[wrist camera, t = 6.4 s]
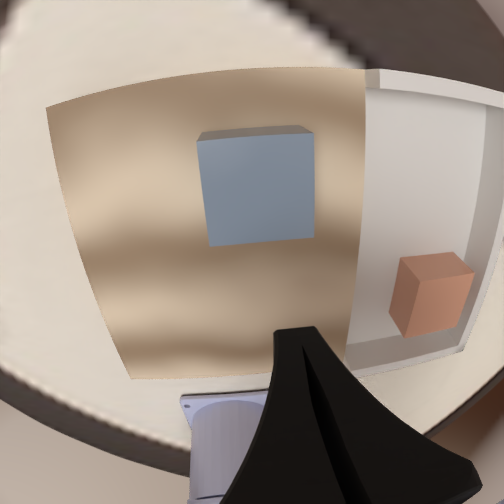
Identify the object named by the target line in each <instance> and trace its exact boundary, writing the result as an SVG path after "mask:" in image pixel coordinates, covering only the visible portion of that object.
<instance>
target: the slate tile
mask: <svg viewBox="0 0 504 504" xmlns="http://www.w3.org/2000/svg"><path fill="white" fill-rule="evenodd" d="M196 144H197V153H198V162H199V170H200V178H201V186H202V194H203V202H204V209H205V217H206V224H207V231H208V239H209V246H210V247H213V246H224V245H235V244H246V243H257V242H268V241H279V240H290V239H301V238H313V237H314V212H315V165H314V133H313V132H311V131H309V130H307V129H306V128H304V127H302V126H300V125H285V126H266V127H251V128H238V129H227V130H217V131H208V132H202V133H201V135H200V136H199V138H198V140H197V141H196Z"/></svg>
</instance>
